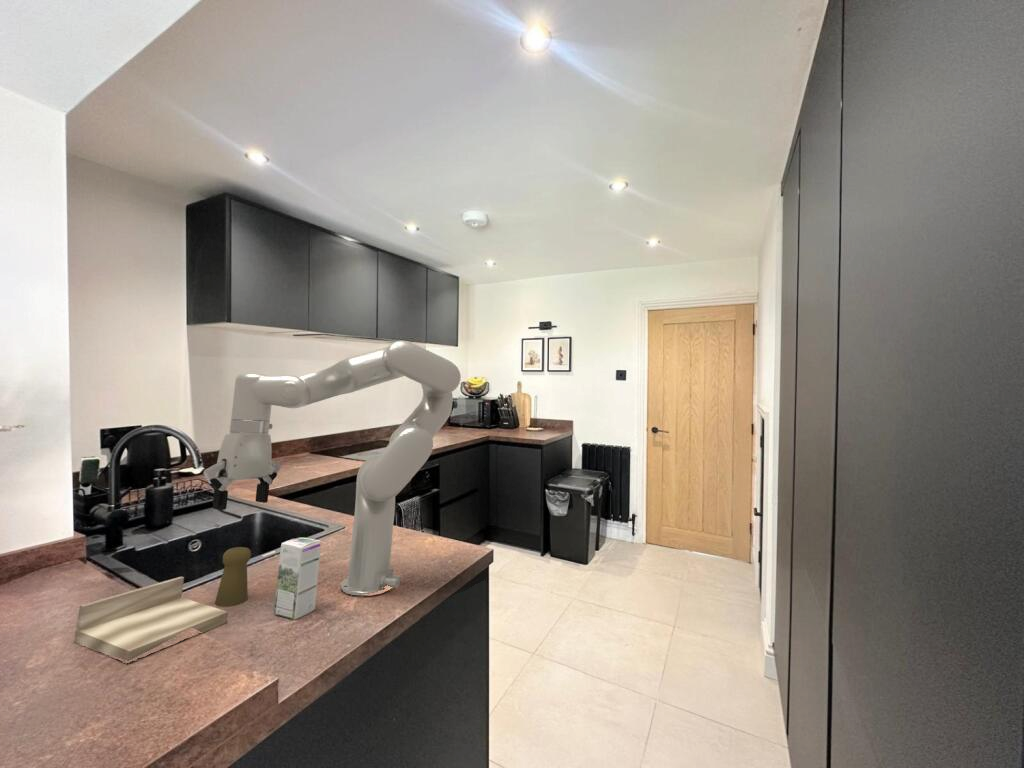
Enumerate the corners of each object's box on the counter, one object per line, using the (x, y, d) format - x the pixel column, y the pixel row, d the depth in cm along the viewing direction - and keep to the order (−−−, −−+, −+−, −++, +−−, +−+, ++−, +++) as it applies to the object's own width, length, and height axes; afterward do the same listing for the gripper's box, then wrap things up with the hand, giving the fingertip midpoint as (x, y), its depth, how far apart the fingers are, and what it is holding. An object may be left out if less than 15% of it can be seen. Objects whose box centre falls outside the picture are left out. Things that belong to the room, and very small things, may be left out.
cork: (231, 608, 86) (238, 553, 88) (207, 604, 88) (214, 550, 89) (254, 597, 92) (260, 546, 93) (231, 593, 94) (238, 543, 95)
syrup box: (316, 609, 88) (323, 539, 90) (293, 621, 83) (301, 546, 84) (295, 604, 90) (302, 535, 91) (271, 615, 84) (280, 542, 86)
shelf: (226, 622, 81) (230, 590, 81) (127, 664, 66) (133, 624, 66) (176, 606, 86) (180, 576, 86) (74, 642, 71) (79, 605, 72)
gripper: (271, 428, 103) (264, 498, 101) (198, 427, 87) (188, 510, 85) (294, 429, 101) (287, 501, 99) (222, 428, 84) (212, 514, 83)
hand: (241, 505), depth 92 cm, fingers open, 9 cm apart
